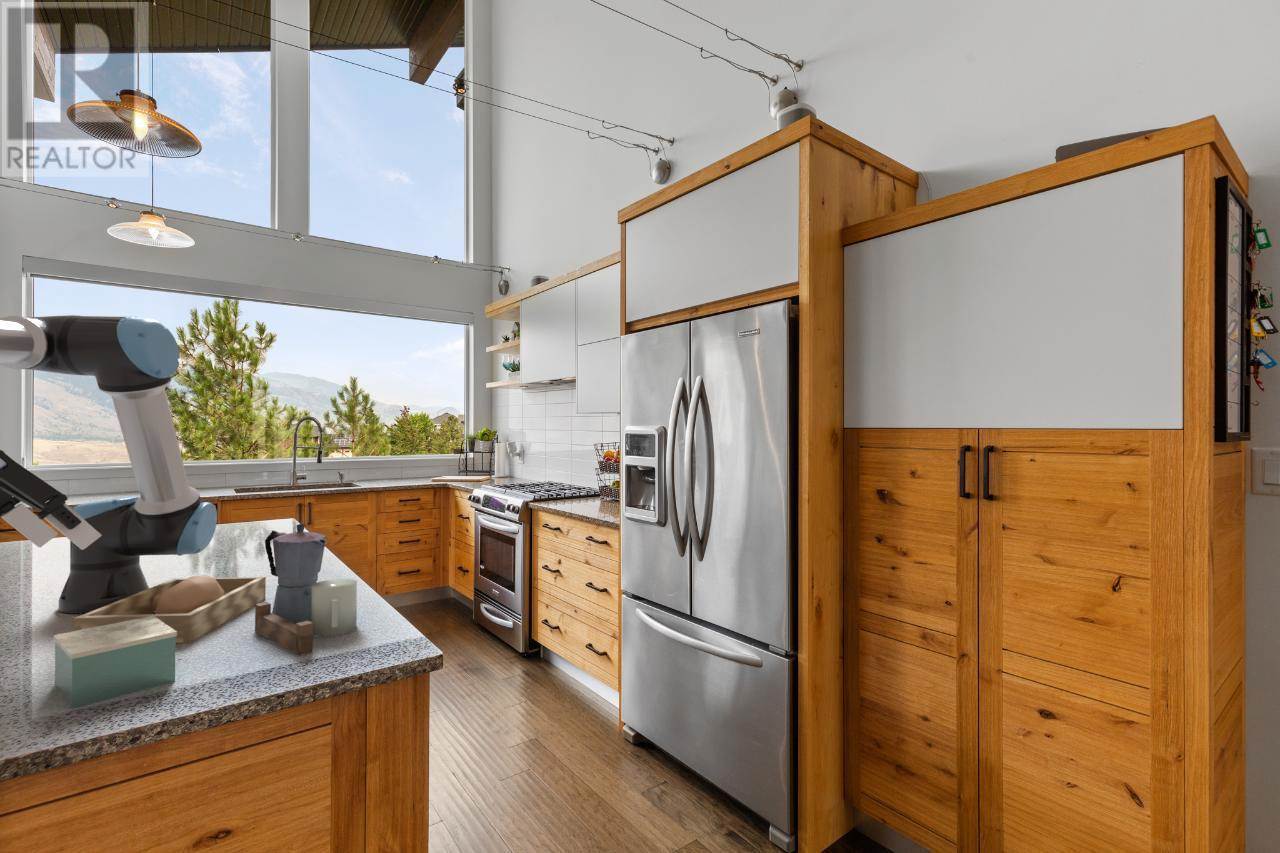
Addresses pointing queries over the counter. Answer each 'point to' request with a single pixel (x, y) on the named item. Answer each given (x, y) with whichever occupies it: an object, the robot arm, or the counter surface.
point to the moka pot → (295, 571)
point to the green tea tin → (114, 660)
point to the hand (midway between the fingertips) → (69, 541)
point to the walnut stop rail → (284, 630)
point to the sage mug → (334, 607)
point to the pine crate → (189, 625)
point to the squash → (187, 595)
